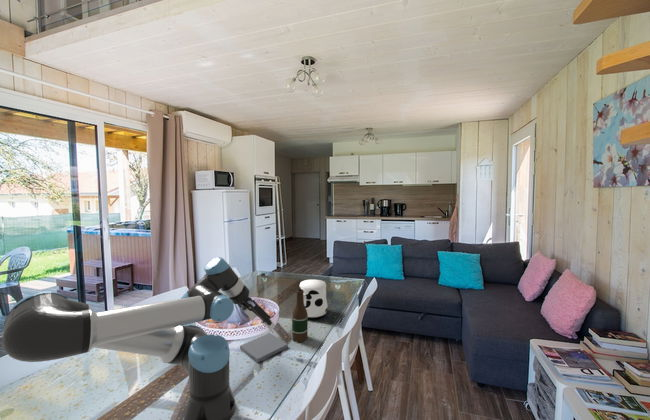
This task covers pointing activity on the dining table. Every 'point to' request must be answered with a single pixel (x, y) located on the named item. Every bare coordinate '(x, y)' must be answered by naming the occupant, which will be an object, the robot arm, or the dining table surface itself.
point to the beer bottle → (299, 319)
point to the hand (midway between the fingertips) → (263, 322)
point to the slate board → (263, 347)
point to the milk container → (314, 297)
